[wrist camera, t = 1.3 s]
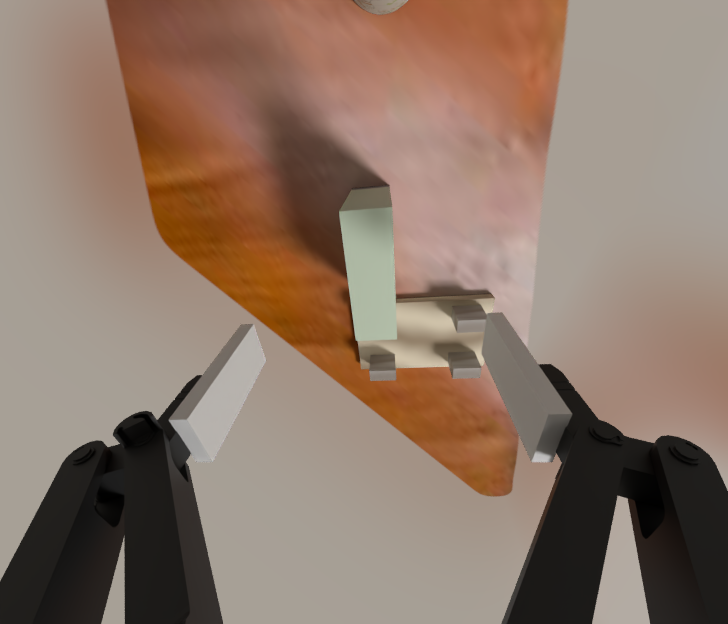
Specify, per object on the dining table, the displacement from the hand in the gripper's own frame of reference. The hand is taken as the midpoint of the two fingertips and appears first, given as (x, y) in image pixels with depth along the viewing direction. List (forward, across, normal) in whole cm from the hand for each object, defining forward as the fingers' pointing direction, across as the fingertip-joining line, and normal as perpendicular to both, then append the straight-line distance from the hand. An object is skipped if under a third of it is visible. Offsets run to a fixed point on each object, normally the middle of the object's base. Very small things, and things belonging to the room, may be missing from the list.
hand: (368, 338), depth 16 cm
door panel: (+17, 0, 0) cm, 17 cm away
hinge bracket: (+17, +5, -12) cm, 21 cm away
